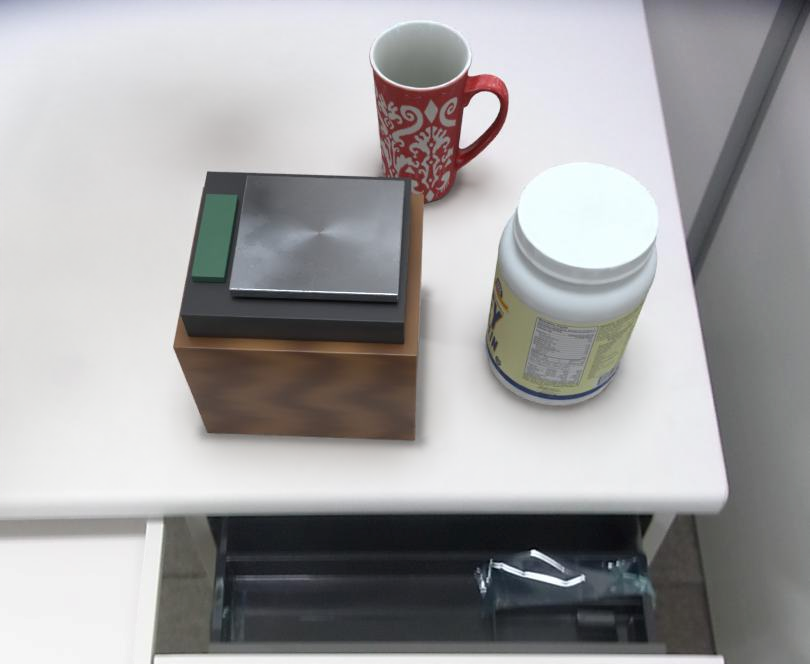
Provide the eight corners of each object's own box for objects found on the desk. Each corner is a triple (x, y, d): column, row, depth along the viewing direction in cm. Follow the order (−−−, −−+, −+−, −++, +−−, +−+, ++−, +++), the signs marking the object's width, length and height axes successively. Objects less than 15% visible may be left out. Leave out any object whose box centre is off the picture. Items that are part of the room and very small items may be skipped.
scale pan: (230, 296, 60) (228, 289, 59) (248, 183, 64) (246, 175, 64) (398, 302, 60) (398, 295, 59) (404, 188, 64) (404, 180, 63)
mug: (364, 203, 83) (358, 79, 71) (384, 139, 87) (382, 11, 75) (488, 224, 82) (504, 103, 70) (504, 159, 86) (522, 32, 74)
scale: (188, 336, 62) (177, 309, 59) (213, 195, 68) (205, 164, 65) (404, 344, 62) (404, 316, 59) (411, 202, 67) (411, 171, 65)
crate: (207, 433, 72) (172, 347, 61) (230, 287, 79) (202, 186, 68) (414, 440, 72) (417, 356, 61) (421, 294, 79) (424, 193, 68)
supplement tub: (493, 292, 79) (515, 141, 63) (623, 312, 78) (678, 163, 62) (474, 400, 74) (493, 264, 58) (612, 422, 73) (668, 290, 58)
